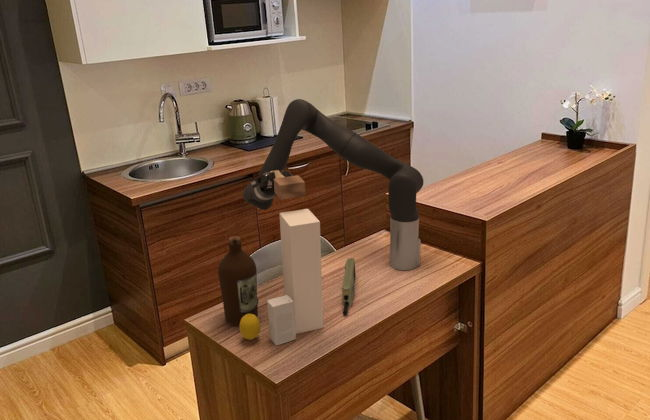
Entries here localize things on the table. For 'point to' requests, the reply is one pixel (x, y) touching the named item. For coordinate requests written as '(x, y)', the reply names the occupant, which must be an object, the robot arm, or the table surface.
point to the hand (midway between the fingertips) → (279, 174)
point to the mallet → (288, 186)
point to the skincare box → (281, 319)
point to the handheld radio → (348, 284)
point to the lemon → (249, 326)
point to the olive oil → (238, 283)
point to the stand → (302, 267)
